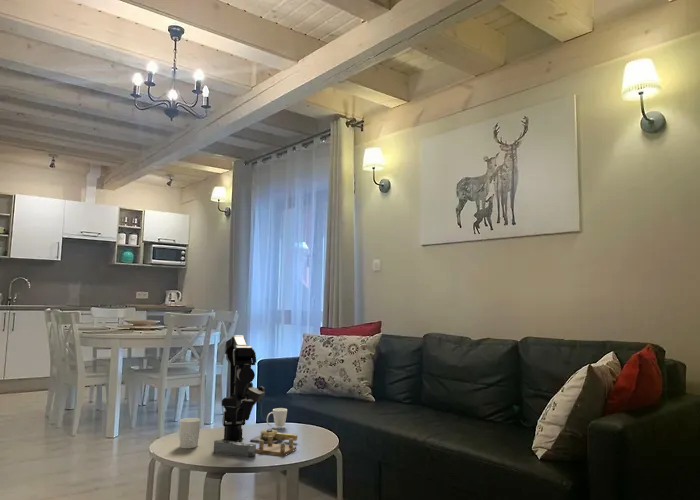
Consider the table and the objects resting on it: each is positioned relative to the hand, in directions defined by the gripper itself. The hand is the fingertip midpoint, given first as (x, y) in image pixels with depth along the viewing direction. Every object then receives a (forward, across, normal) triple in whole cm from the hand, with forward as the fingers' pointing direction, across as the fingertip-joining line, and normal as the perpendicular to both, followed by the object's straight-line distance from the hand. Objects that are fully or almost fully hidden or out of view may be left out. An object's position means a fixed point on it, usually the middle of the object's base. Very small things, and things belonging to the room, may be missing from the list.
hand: (240, 422), depth 197 cm
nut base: (+11, +23, 0) cm, 25 cm away
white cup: (+12, +2, +23) cm, 26 cm away
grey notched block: (+11, -1, +1) cm, 11 cm away
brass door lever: (+10, +23, -5) cm, 25 cm away
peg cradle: (+11, +8, -11) cm, 18 cm away
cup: (+12, +44, +7) cm, 46 cm away
